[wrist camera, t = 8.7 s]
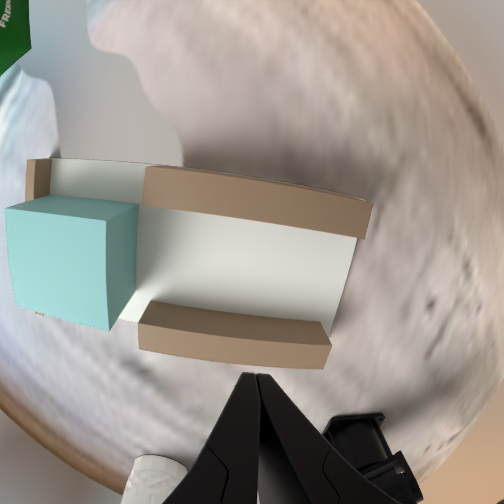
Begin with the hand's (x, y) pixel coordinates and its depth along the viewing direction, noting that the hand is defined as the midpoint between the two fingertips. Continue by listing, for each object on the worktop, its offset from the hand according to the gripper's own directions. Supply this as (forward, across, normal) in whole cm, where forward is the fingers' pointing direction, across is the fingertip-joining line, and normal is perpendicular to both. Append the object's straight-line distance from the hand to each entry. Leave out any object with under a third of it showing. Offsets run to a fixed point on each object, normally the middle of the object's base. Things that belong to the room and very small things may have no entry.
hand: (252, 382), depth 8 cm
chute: (+11, +4, 0) cm, 12 cm away
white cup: (+12, +6, +28) cm, 31 cm away
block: (+11, +10, 0) cm, 15 cm away
